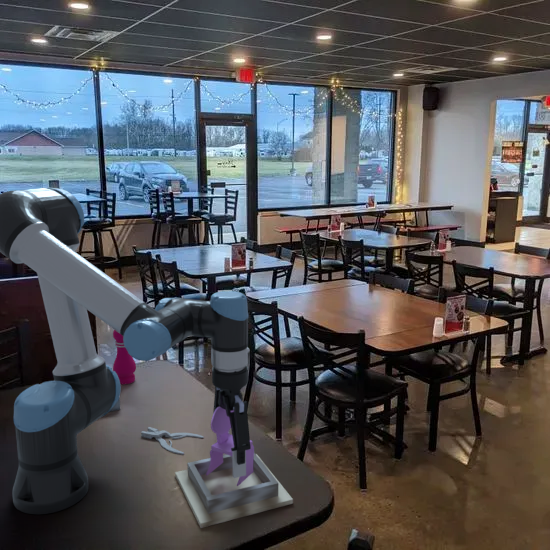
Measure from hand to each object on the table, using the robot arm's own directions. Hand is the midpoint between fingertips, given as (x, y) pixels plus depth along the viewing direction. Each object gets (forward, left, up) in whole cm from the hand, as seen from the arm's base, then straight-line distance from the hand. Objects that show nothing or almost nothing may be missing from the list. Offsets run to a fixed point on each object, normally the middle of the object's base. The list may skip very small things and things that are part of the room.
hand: (231, 463), depth 122 cm
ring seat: (0, 0, -6) cm, 6 cm away
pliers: (-7, +27, -7) cm, 29 cm away
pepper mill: (-11, +71, -6) cm, 72 cm away
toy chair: (0, 0, -3) cm, 3 cm away
